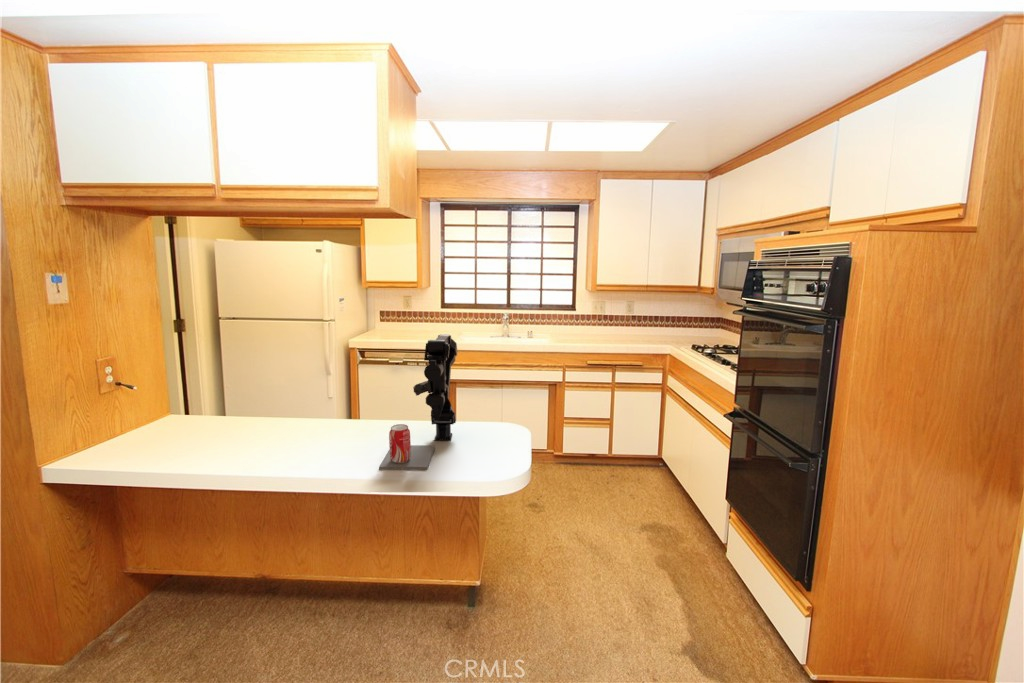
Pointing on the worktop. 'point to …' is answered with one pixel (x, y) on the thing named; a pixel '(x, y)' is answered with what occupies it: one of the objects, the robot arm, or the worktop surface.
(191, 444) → the worktop surface
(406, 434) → the soda can
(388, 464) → the charcoal mat
